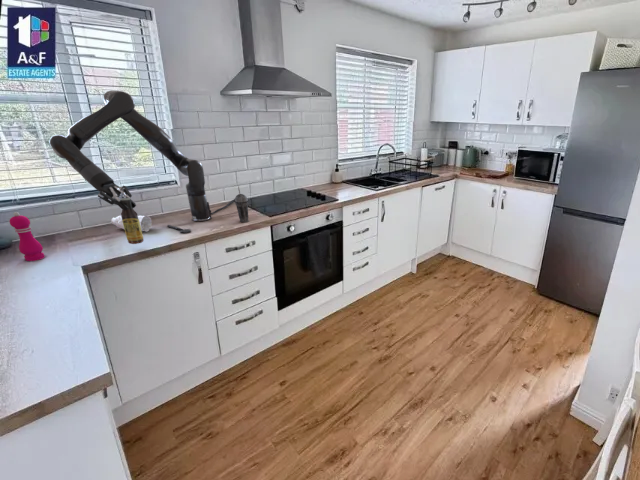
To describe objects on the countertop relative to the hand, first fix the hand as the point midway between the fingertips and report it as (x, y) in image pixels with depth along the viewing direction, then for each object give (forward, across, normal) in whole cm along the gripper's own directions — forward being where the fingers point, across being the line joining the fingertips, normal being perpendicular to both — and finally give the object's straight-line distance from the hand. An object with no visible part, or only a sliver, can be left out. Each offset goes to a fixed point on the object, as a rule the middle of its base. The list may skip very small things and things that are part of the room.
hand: (130, 207), depth 160 cm
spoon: (+13, +29, +15) cm, 35 cm away
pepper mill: (-10, -20, +38) cm, 44 cm away
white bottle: (-3, +23, +31) cm, 38 cm away
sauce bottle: (+10, 0, +13) cm, 16 cm away
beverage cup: (+30, +52, -2) cm, 61 cm away
